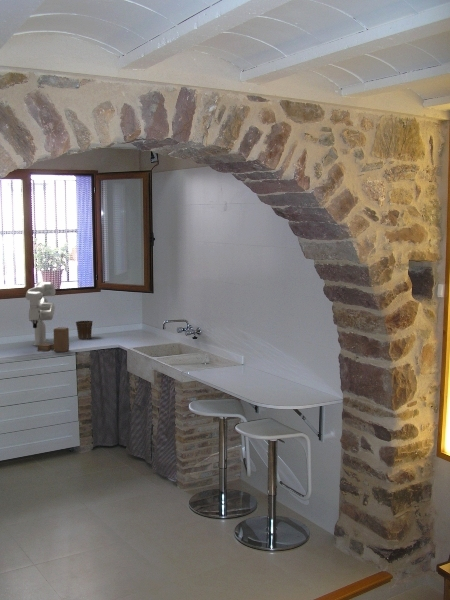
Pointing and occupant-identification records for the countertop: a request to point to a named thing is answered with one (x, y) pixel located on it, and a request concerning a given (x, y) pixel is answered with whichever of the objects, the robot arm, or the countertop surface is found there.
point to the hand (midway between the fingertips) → (35, 327)
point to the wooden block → (61, 339)
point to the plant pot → (84, 329)
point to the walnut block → (45, 347)
